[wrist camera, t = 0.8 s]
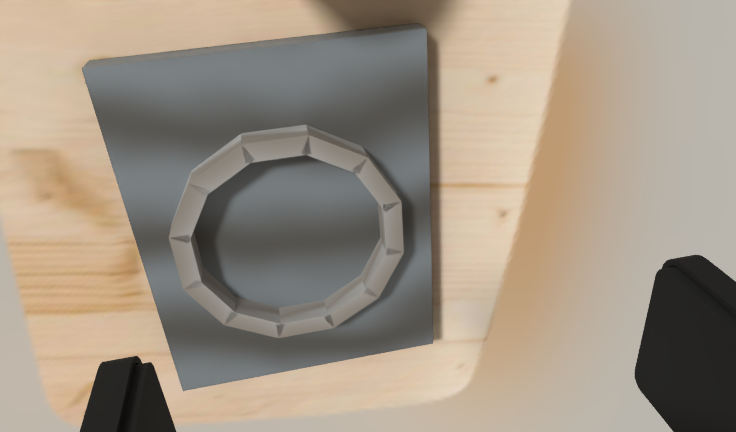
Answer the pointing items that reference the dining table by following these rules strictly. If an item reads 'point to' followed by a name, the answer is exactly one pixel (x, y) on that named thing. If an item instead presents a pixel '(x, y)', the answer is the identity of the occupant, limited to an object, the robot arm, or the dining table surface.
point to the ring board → (277, 196)
